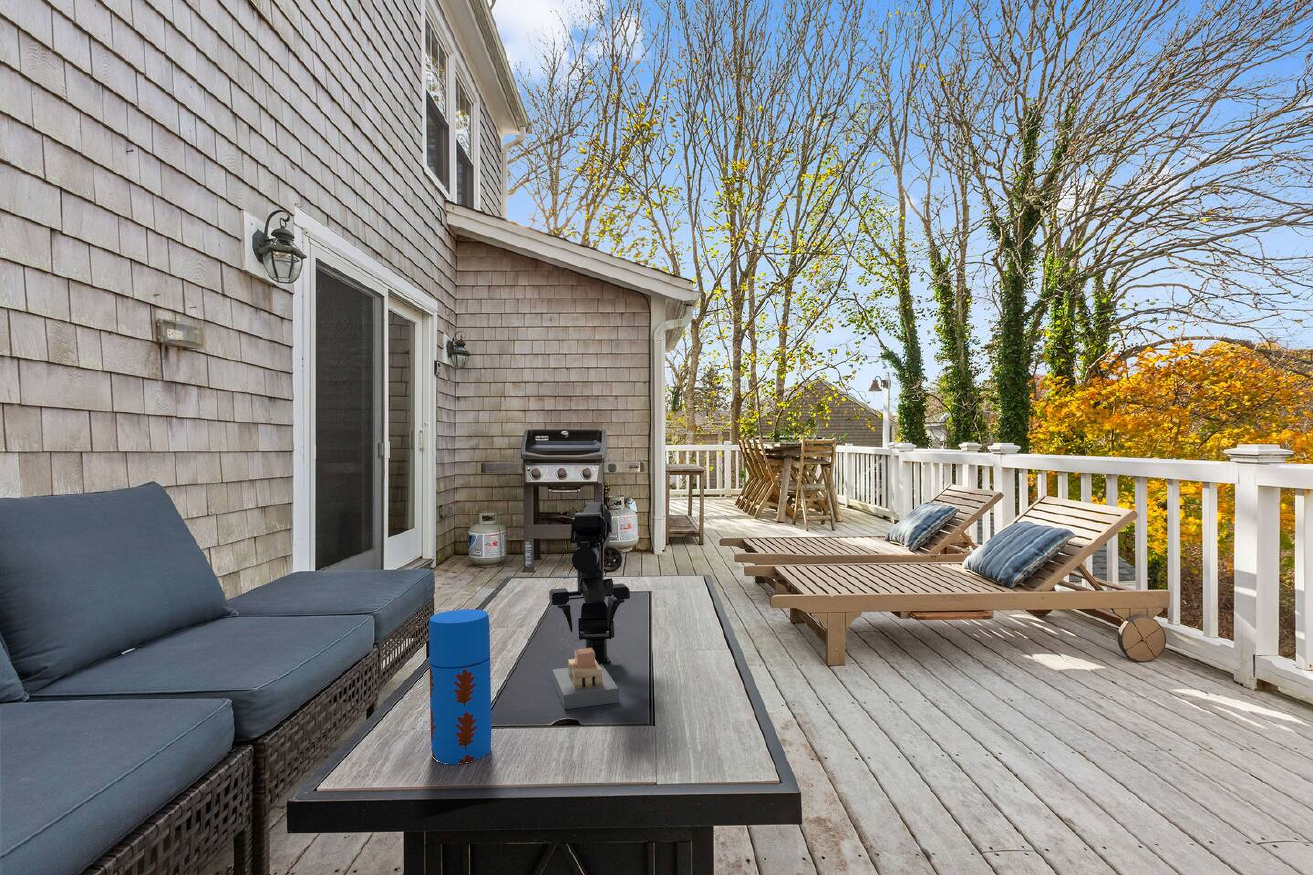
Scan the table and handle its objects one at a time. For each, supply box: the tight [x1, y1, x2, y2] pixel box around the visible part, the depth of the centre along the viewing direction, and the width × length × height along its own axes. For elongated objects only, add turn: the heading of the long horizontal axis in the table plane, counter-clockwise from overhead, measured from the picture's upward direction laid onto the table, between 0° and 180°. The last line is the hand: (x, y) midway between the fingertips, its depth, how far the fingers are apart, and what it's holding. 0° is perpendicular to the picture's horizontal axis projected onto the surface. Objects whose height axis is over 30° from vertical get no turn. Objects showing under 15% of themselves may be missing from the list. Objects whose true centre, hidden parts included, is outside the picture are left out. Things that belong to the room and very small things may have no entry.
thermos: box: [428, 608, 492, 765], centre depth 125 cm, size 11×11×25 cm
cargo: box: [573, 647, 595, 668], centre depth 154 cm, size 4×4×3 cm
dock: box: [552, 664, 620, 710], centre depth 155 cm, size 18×12×3 cm, turn 16°
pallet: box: [567, 658, 602, 689], centre depth 154 cm, size 10×6×4 cm, turn 16°
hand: (590, 630), depth 163 cm, fingers open, 9 cm apart
